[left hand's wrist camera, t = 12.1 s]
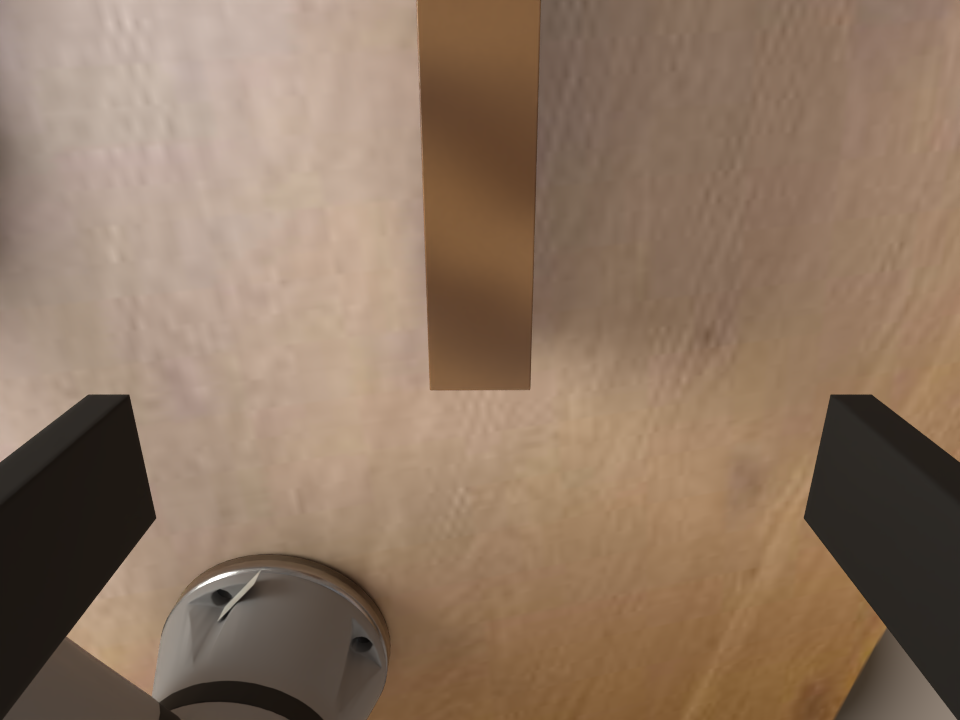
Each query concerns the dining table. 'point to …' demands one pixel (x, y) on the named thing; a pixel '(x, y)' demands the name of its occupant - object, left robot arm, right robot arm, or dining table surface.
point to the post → (479, 187)
